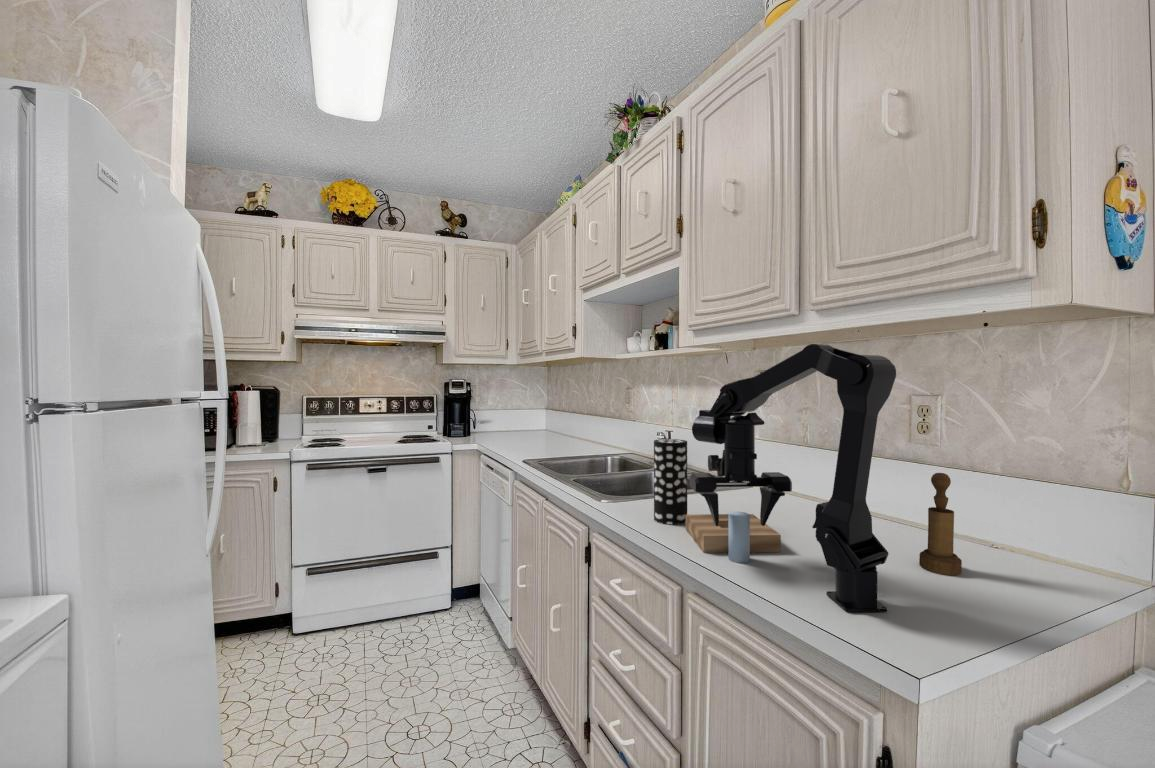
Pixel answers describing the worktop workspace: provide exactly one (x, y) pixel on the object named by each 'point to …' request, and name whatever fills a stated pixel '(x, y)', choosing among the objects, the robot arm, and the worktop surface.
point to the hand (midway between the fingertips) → (739, 525)
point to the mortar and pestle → (940, 533)
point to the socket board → (718, 536)
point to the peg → (739, 537)
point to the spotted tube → (670, 481)
